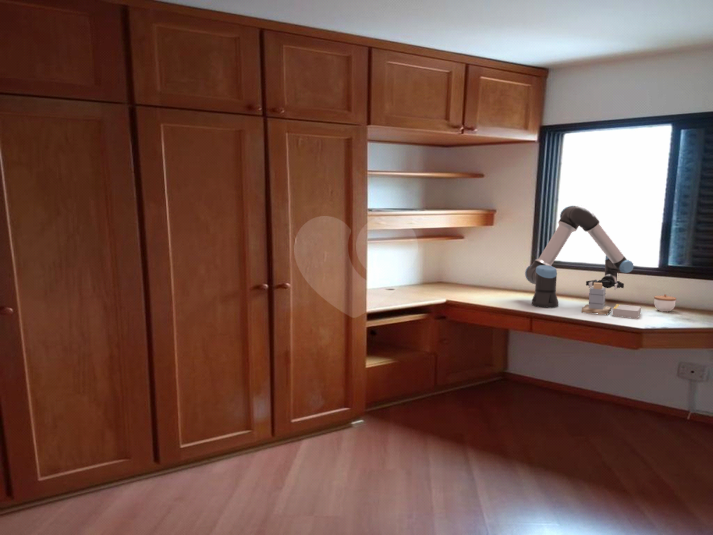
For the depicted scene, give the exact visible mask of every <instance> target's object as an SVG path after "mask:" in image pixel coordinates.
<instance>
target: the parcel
mask: <svg viewBox="0 0 713 535" xmlns="http://www.w3.org/2000/svg"><path fill="white" fill-rule="evenodd" d="M592 287H593V288H594V289H602V288H603V286H602V283H596V282H594V286H592Z"/></svg>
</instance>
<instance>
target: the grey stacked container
mask: <svg viewBox="0 0 713 535" xmlns="http://www.w3.org/2000/svg"><path fill="white" fill-rule="evenodd" d="M593 287H594V286H592V287H591V288H589V294H588V295H589V297H588V305H589V308H593V309H603V308H604V307H605V306H606V294H607V293H606V289H607V288H605V287H602V289H594V288H593Z"/></svg>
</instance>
